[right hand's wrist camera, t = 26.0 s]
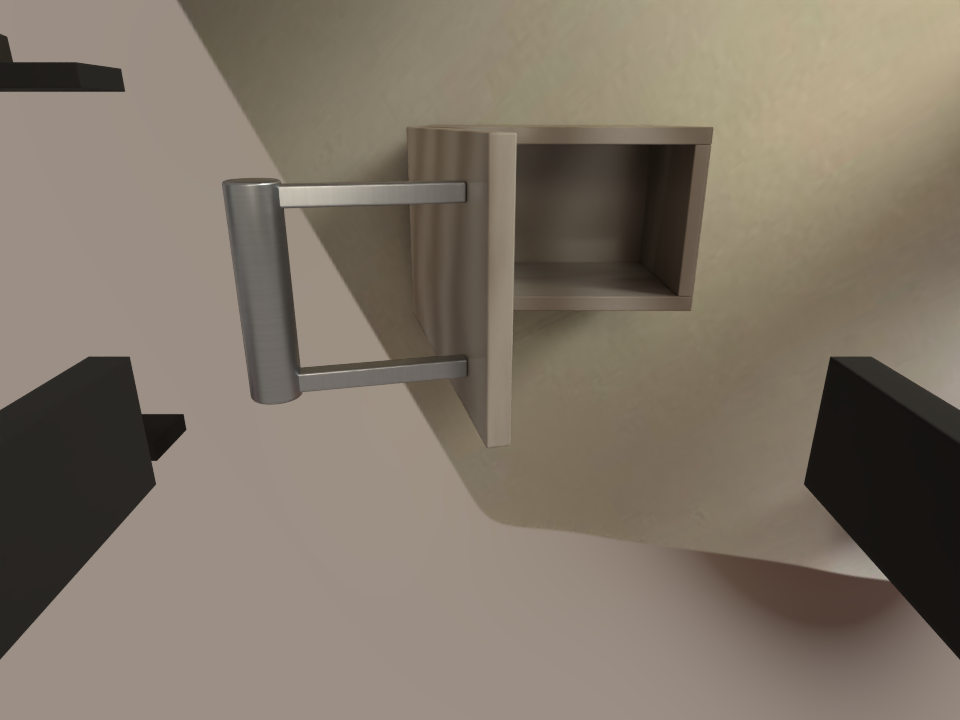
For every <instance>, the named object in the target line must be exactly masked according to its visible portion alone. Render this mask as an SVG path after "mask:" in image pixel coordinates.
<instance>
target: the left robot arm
mask: <svg viewBox="0 0 960 720" xmlns="http://www.w3.org/2000/svg"><path fill="white" fill-rule="evenodd" d="M124 91H125V89H124V83H123V77H122V72H121V69H119V68H112V67H105V66H98V65H91V64H83V63H77V62H13V60H12V56H11V51H10V47H9V43H8V39H7V37H6V36H4V35H1V34H0V92H124ZM142 419H143V424H144V429H145V433H146V438H147V443H148V448H149V453H150V458H151V461H157V460H158V459H159V458H160V457H161V456H162V455H163V454H164V453H165V452H166V451H167V450H168V449H169V448H170V446H171V445H172V444H173V443H174V442H175V441H176V440H177V439H178V438H179V437H180V436H181V435H182V434H183V433H184V432H185V431H186V425H185V420H184V415H183V414H142Z"/></svg>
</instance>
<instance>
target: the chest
mask: <svg viewBox="0 0 960 720" xmlns="http://www.w3.org/2000/svg"><path fill="white" fill-rule="evenodd" d="M419 127H434V128H450V129H467V130H484V131H501V132H515V133H516V134H517V150H516V199H515V247H514V296H513V311H691V306H692V298H693V297H692V296H693V290H694V281H695V273H696V265H697V257H698V249H699V241H700V232H701V224H702V216H703V208H704V200H705V192H706V184H707V175H708V167H709V159H710V151H711V144H712V135H713V127H689V126H549V125H429V126H419Z"/></svg>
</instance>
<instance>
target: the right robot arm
mask: <svg viewBox="0 0 960 720" xmlns="http://www.w3.org/2000/svg"><path fill="white" fill-rule="evenodd" d="M155 485H156V482H155V477H154V472H153V467H152V462H151V458H150V453H149V448H148V443H147V438H146V433H145V429H144V424H143V419H142V414H141V409H140V404H139V400H138V395H137V390H136V385H135V380H134V375H133V371H132V366H131V361H130V357H87V358H86V359H84V360H82V361H81V362H79V363H77V364H76V365H74V366H73V367H71V368H69V369H68V370H66V371H64V372H63V373H61V374H59V375H58V376H56V377H54V378H53V379H51V380H49V381H48V382H46V383H44V384H43V385H41V386H40V387H38V388H36V389H35V390H33V391H31V392H30V393H28V394H26V395H25V396H23V397H21V398H20V399H18V400H16V401H15V402H13V403H11V404H10V405H8V406H6V407H5V408H3V409H1V410H0V659H1V658H2V657H3V656H4V655H5V653H6V652H7V651H8V650H9V649H10V648H11V647H12V646H13V644H14V643H15V642H16V641H17V640H18V639H19V638H20V637H21V636H22V634H23V633H24V632H25V631H26V630H27V629H28V628H29V627H30V625H31V624H32V623H33V622H34V621H35V620H36V619H37V618H38V616H39V615H40V614H41V613H42V612H43V611H44V610H45V609H46V607H47V606H48V605H49V604H50V603H51V602H52V601H53V600H54V598H55V597H56V596H57V595H58V594H59V593H60V592H61V591H62V589H63V588H64V587H65V586H66V585H67V584H68V583H69V582H70V580H71V579H72V578H73V577H74V576H75V575H76V574H77V573H78V571H79V570H80V569H81V568H82V567H83V566H84V565H85V564H86V562H87V561H88V560H89V559H90V558H91V557H92V556H93V554H94V553H95V552H96V551H97V550H98V549H99V548H100V547H101V546H102V544H103V543H104V542H105V541H106V540H107V539H108V538H109V537H110V535H111V534H112V533H113V532H114V531H115V530H116V529H117V528H118V526H119V525H120V524H121V523H122V522H123V521H124V520H125V519H126V517H127V516H128V515H129V514H130V513H131V512H132V511H133V510H134V508H135V507H136V506H137V505H138V504H139V503H140V502H141V501H142V499H143V498H144V497H145V496H146V495H147V494H148V493H149V492H150V491H151V489H152V488H153V487H154V486H155ZM804 485H805V486H806V487H807V488H808V489H809V491H810V492H811V493H812V494H813V495H814V496H815V497H816V498H817V500H818V501H819V502H820V503H821V504H822V505H823V506H824V507H825V509H826V510H827V511H828V512H829V513H830V514H831V515H832V516H833V518H834V519H835V520H836V521H837V522H838V523H839V524H840V525H841V526H842V528H843V529H844V530H845V531H846V532H847V533H848V534H849V535H850V537H851V538H852V539H853V540H854V541H855V542H856V543H857V544H858V546H859V547H860V548H861V549H862V550H863V551H864V552H865V553H866V555H867V556H868V557H869V558H870V559H871V560H872V561H873V562H874V564H875V565H876V566H877V567H878V568H879V569H880V570H881V571H882V573H883V574H884V575H885V576H886V577H887V578H888V579H889V580H890V582H891V583H892V584H893V585H894V586H895V587H896V588H897V589H898V591H899V592H900V593H901V594H902V595H903V596H904V597H905V598H906V600H907V601H908V602H909V603H910V604H911V605H912V606H913V607H914V609H915V610H916V611H917V612H918V613H919V614H920V615H921V616H922V618H923V619H924V620H925V621H926V622H927V623H928V624H929V625H930V627H931V628H932V629H933V630H934V631H935V632H936V633H937V634H938V635H939V637H940V638H941V639H942V640H943V641H944V642H945V643H946V645H947V646H948V647H949V648H950V649H951V650H952V651H953V652H954V653H955V655H956V656H957V657H958V658H959V659H960V410H959V409H957V408H955V407H954V406H952V405H950V404H949V403H947V402H945V401H944V400H942V399H940V398H939V397H937V396H935V395H934V394H932V393H930V392H929V391H927V390H926V389H924V388H922V387H921V386H919V385H917V384H916V383H914V382H912V381H911V380H909V379H907V378H906V377H904V376H902V375H901V374H899V373H897V372H896V371H894V370H892V369H891V368H889V367H887V366H886V365H884V364H883V363H881V362H879V361H878V360H876V359H874V358H873V357H830V361H829V366H828V371H827V375H826V380H825V385H824V390H823V395H822V400H821V404H820V409H819V414H818V419H817V424H816V429H815V433H814V438H813V443H812V448H811V453H810V458H809V462H808V467H807V472H806V477H805V482H804Z"/></svg>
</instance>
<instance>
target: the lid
mask: <svg viewBox="0 0 960 720" xmlns="http://www.w3.org/2000/svg"><path fill="white" fill-rule="evenodd" d="M407 150H408V178H409V181H392V182H342V183H293V184H281V182H280V180H278V179H273V178H242V179H230V180H225V181H223V183H222V187H223V194H224V202H225V209H226V216H227V224H228V231H229V239H230V246H231V253H232V261H233V268H234V275H235V282H236V290H237V297H238V305H239V312H240V319H241V326H242V334H243V341H244V348H245V356H246V363H247V370H248V378H249V385H250V392H251V397H252V399H253V400H254V401H255V402H257V403H260V404H281V403H286V402H290V401H292V400H295V399H297V398H298V397H299V396H301V394H302V392H308V391H318V390H329V389H340V388H351V387H361V386H372V385H383V384H394V383H405V382H416V381H426V380H437V379H448V378H449V379H450V381H451V383H452V385H453V387H454V389H455V391H456V392H457V394H458V396H459V398H460V400H461V402H462V403H463V405H464V407H465V409H466V411H467V413H468V415H469V416H470V418H471V420H472V422H473V424H474V426H475V428H476V429H477V431H478V433H479V435H480V437H481V439H482V440H483V442H484V444H485V446H486V448H493V447H502V446H509V445H510V441H511V393H512V344H513V296H514V247H515V199H516V150H517V134H516V133H515V132H501V131H484V130H467V129H450V128H434V127H407ZM379 205H410V232H411V259H412V287H413V313H414V315H415V317H416V318H417V320H418V322H419V324H420V326H421V328H422V329H423V331H424V333H425V335H426V337H427V339H428V341H429V342H430V344H431V346H432V348H433V350H434V352H435V354H436V355H437V356H434V357H423V358H411V359H399V360H387V361H375V362H363V363H351V364H339V365H328V366H316V367H304V368H300V359H299V349H298V340H297V331H296V321H295V311H294V302H293V292H292V283H291V273H290V264H289V254H288V245H287V235H286V226H285V216H284V208H309V207H344V206H379Z"/></svg>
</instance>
